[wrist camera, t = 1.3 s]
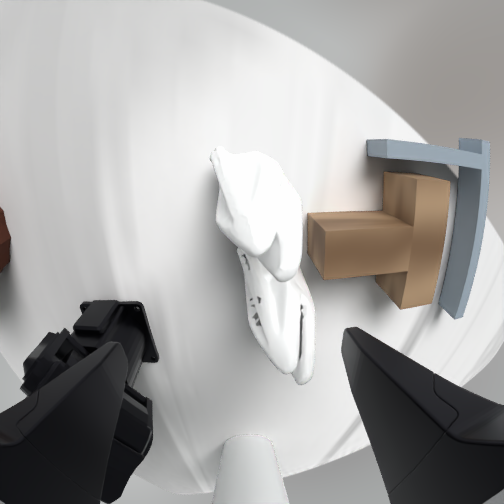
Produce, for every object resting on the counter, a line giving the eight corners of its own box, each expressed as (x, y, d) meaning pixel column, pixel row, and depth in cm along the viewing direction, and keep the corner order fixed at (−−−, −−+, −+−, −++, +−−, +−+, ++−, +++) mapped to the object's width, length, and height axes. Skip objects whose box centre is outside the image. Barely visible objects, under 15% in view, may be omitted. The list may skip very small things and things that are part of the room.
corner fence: (446, 301, 23) (462, 316, 20) (355, 319, 23) (368, 339, 20) (467, 139, 17) (489, 142, 14) (366, 123, 17) (386, 120, 14)
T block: (404, 277, 21) (431, 303, 17) (306, 289, 21) (320, 321, 17) (414, 173, 18) (450, 181, 14) (306, 170, 18) (325, 176, 14)
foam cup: (197, 438, 29) (189, 525, 17) (261, 420, 27) (269, 520, 15) (238, 463, 32) (239, 536, 20) (295, 447, 30) (308, 527, 18)
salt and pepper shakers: (210, 149, 17) (167, 150, 7) (272, 135, 17) (314, 116, 7) (252, 304, 22) (260, 422, 11) (304, 292, 21) (346, 402, 11)
